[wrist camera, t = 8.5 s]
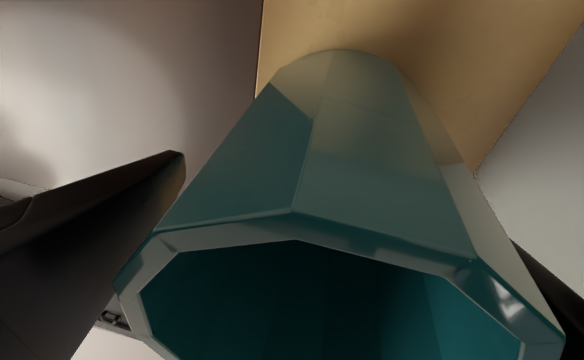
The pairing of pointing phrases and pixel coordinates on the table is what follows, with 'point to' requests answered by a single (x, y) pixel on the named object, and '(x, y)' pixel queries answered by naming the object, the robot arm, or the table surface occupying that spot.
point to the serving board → (245, 70)
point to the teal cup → (335, 236)
